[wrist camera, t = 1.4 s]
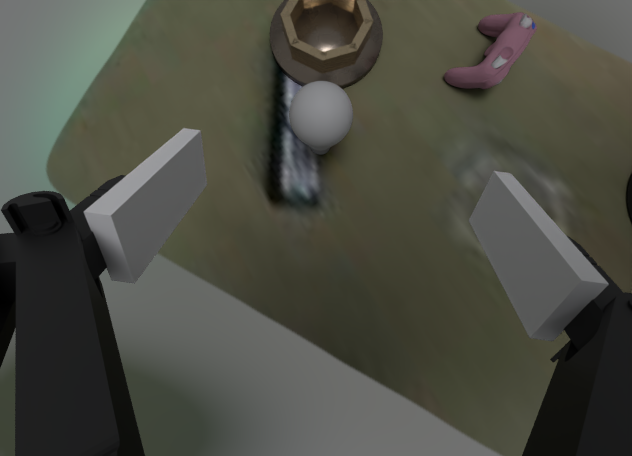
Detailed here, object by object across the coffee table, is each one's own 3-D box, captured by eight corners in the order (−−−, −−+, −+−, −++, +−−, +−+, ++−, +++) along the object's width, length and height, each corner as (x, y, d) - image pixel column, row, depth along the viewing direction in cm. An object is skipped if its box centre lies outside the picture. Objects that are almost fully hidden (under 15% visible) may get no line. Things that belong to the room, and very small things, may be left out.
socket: (399, 18, 40) (407, -6, 37) (350, 109, 39) (353, 93, 35) (303, -27, 41) (302, -54, 38) (251, 60, 40) (244, 40, 36)
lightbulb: (287, 134, 39) (275, 81, 28) (333, 115, 39) (339, 56, 28) (306, 179, 38) (302, 142, 27) (353, 159, 38) (368, 116, 27)
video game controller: (459, 104, 41) (509, 89, 34) (438, 78, 39) (487, 57, 32) (497, 45, 42) (553, 21, 35) (478, 18, 40) (534, -14, 34)
